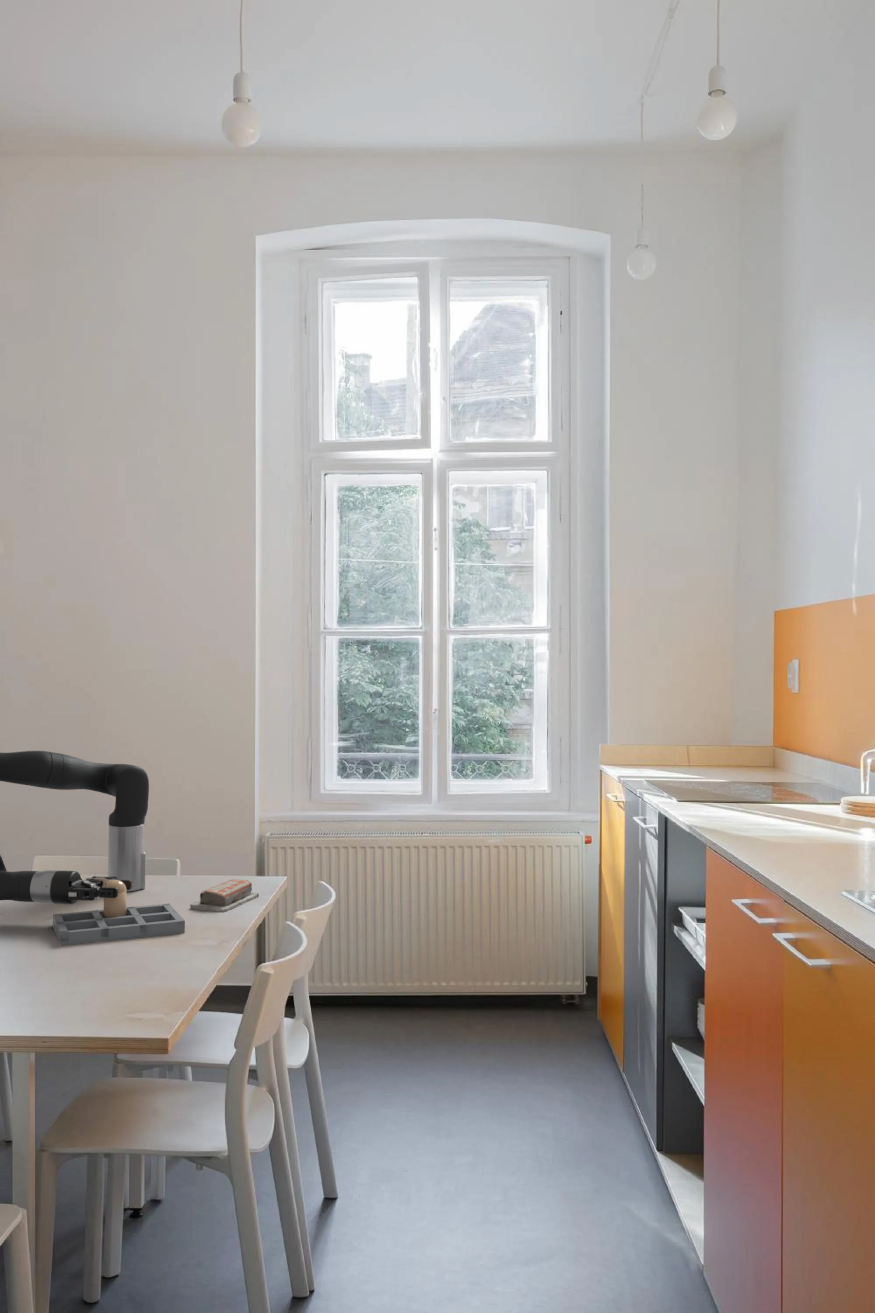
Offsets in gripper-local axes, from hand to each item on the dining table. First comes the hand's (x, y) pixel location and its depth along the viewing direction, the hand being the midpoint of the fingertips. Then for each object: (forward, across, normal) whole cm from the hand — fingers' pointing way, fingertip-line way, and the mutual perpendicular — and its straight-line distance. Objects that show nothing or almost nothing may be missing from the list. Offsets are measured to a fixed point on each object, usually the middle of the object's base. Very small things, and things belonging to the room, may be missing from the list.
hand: (124, 888), depth 226 cm
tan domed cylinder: (-2, 0, +8) cm, 8 cm away
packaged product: (+17, +24, +9) cm, 31 cm away
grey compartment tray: (0, -4, +8) cm, 9 cm away
